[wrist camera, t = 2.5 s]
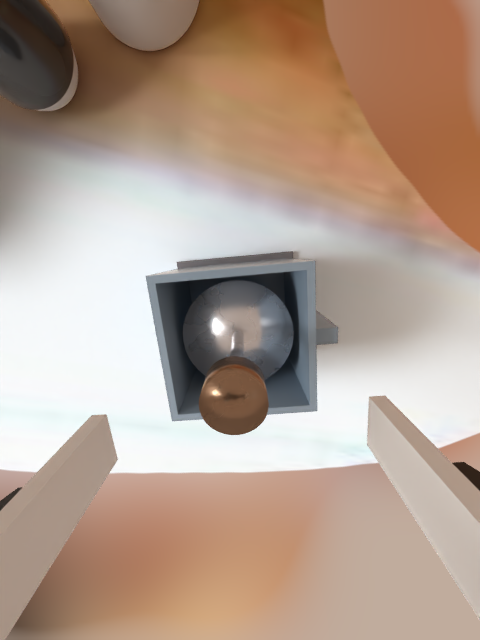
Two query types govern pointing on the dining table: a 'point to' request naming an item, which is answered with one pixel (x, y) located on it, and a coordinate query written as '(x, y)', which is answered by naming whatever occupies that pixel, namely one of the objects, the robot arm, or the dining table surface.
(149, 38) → the cylinder vase
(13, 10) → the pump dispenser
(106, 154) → the dining table surface
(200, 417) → the grey open bin
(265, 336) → the plunger
